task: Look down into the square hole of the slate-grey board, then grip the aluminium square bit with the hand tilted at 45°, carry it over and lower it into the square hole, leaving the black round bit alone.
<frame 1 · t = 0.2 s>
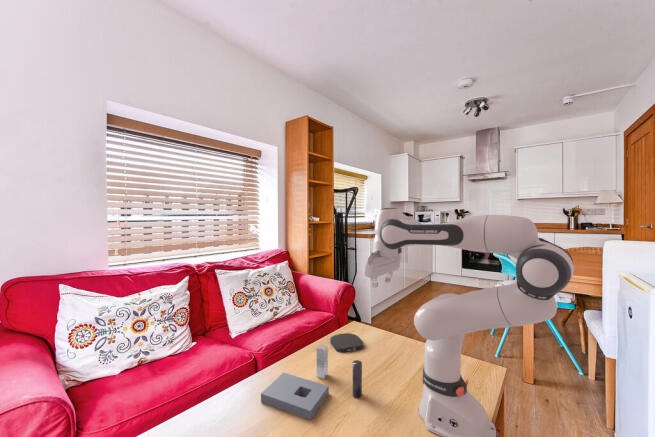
hand: (381, 284, 106), 39 cm above the table, tool pointing down, fingers open, 8 cm apart
socket board: (295, 397, 99), on the table
round bit: (357, 394, 101), on the table
square bit: (322, 375, 112), on the table
media streaming box: (346, 345, 139), on the table
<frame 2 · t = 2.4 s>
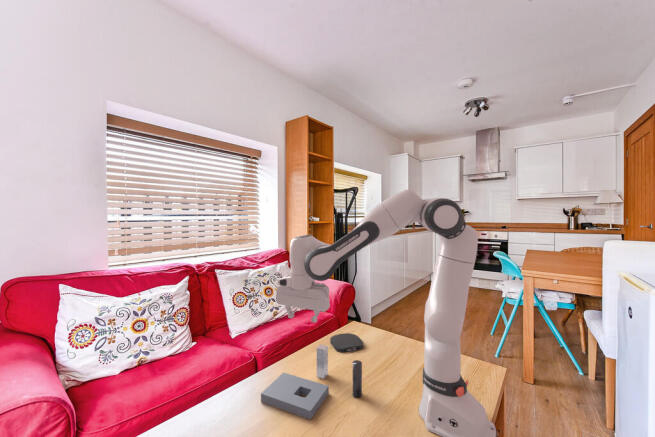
hand: (302, 319, 97), 29 cm above the table, tool pointing down, fingers open, 8 cm apart
nothing on the table moved.
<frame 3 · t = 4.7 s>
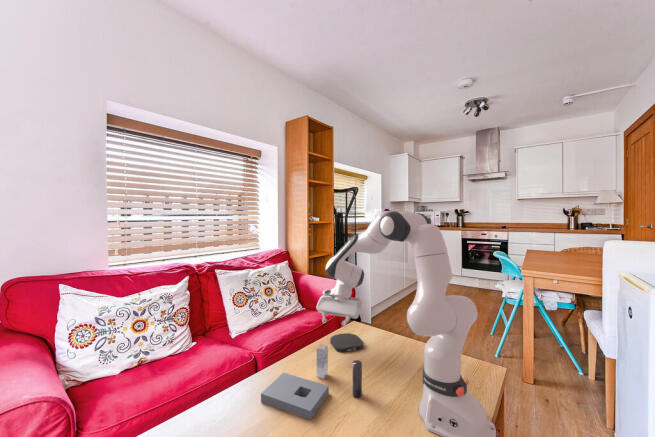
hand: (333, 324, 123), 17 cm above the table, tool tilted 45°, fingers open, 8 cm apart
nothing on the table moved.
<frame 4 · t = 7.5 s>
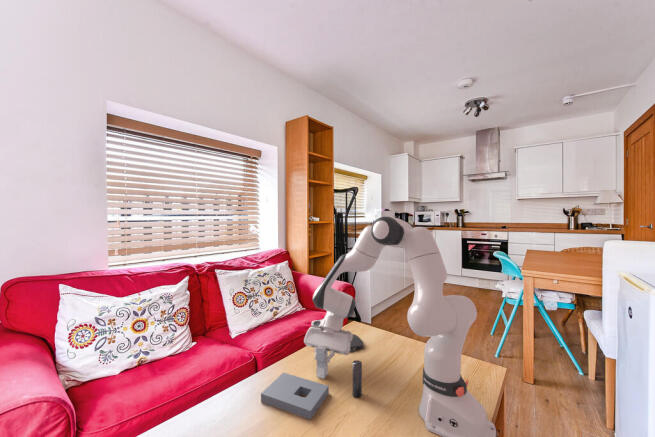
hand: (321, 360, 112), 7 cm above the table, tool tilted 45°, fingers closed on square bit, 3 cm apart
square bit: (322, 375, 112), on the table, touching gripper
everything else where it was.
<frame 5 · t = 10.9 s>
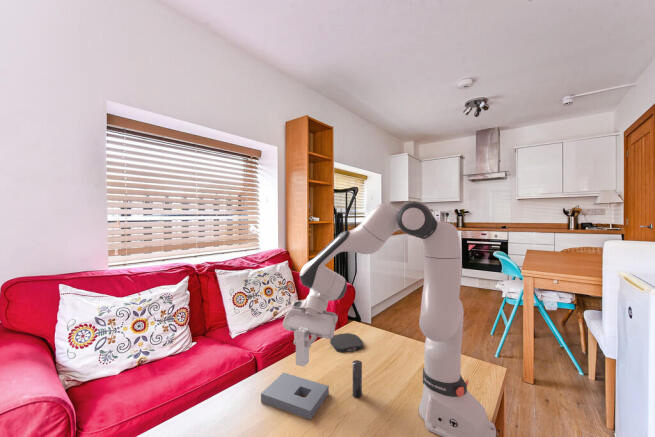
hand: (301, 345, 97), 20 cm above the table, tool tilted 45°, fingers closed on square bit, 3 cm apart
square bit: (302, 363, 98), point 13 cm above the table, touching gripper
everything else where it was.
when the fingers open (8 cm above the table, at t = 14.3 s): square bit drops 1 cm, resting in socket board.
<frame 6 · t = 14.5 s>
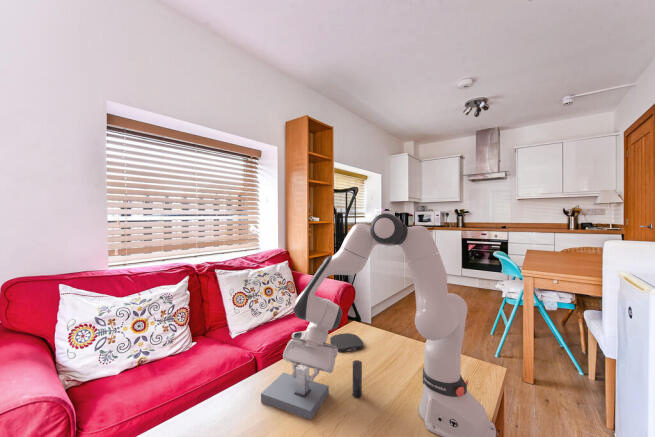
hand: (301, 379, 97), 8 cm above the table, tool tilted 45°, fingers open, 5 cm apart
square bit: (302, 400, 98), resting in socket board
everything else where it was.
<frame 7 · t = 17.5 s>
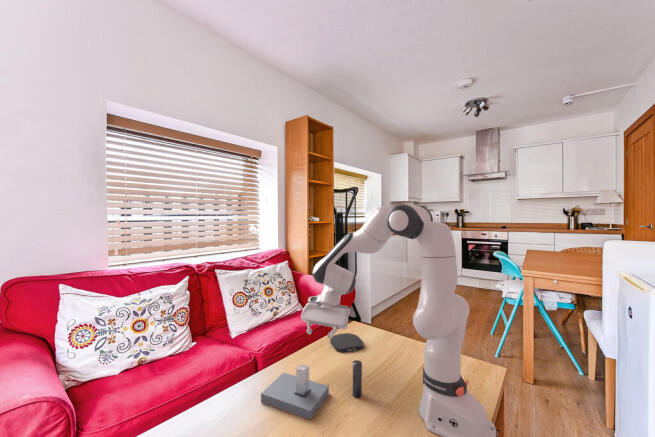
hand: (318, 335, 109), 18 cm above the table, tool tilted 45°, fingers open, 8 cm apart
nothing on the table moved.
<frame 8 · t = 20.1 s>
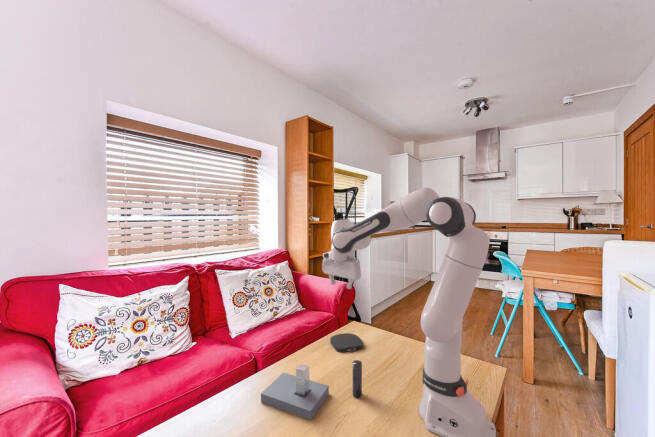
hand: (340, 286, 122), 34 cm above the table, tool pointing down, fingers open, 8 cm apart
nothing on the table moved.
at the end: square bit 0.1 cm from the target spot on the socket board, point 0.0 cm above the socket board's base; square bit tilted 0°; the gripper is holding nothing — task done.
